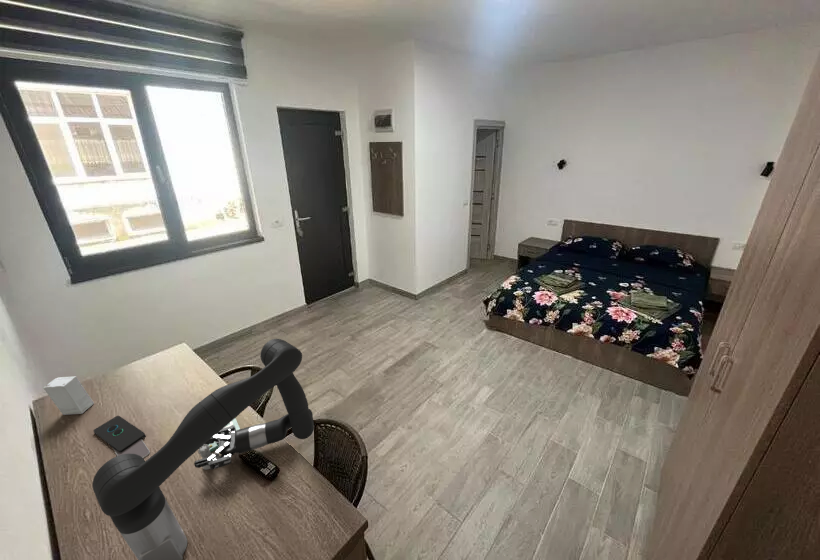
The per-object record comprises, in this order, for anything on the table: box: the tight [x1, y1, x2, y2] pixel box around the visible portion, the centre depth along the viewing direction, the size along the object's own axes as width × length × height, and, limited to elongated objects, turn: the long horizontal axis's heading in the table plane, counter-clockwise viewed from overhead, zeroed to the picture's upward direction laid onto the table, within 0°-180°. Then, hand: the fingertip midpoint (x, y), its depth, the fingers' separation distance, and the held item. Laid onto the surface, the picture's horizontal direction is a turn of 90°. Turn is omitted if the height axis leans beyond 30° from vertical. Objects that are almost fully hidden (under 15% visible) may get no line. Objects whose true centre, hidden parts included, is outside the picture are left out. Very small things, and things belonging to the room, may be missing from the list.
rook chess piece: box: [197, 444, 216, 470], centre depth 105 cm, size 4×4×8 cm
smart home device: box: [93, 415, 146, 452], centre depth 118 cm, size 8×2×20 cm
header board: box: [209, 417, 241, 453], centre depth 119 cm, size 18×11×2 cm, turn 40°
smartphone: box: [112, 439, 151, 459], centre depth 113 cm, size 7×1×15 cm
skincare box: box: [43, 375, 95, 416], centre depth 127 cm, size 8×6×15 cm
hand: (197, 453), depth 104 cm, fingers open, 7 cm apart
